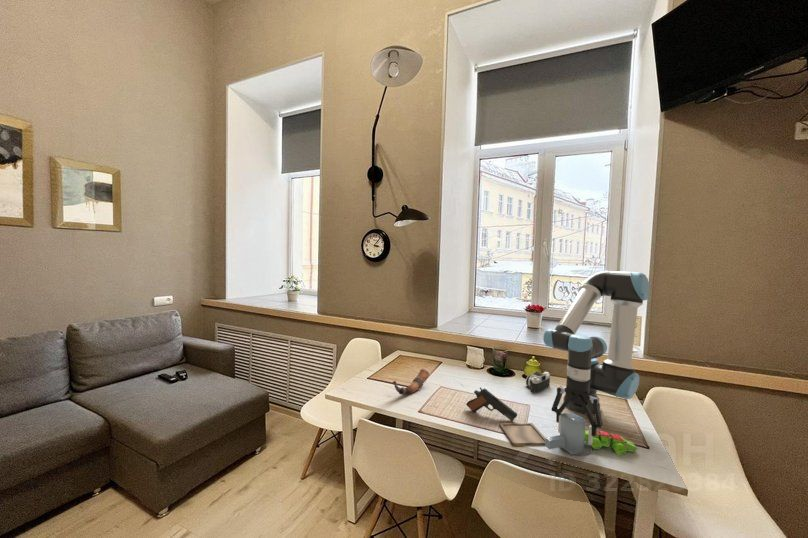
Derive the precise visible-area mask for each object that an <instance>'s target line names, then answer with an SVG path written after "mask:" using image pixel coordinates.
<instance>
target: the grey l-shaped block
mask: <svg viewBox="0 0 808 538" xmlns="http://www.w3.org/2000/svg"><path fill="white" fill-rule="evenodd" d="M586 424H587V421H586V420H585V419H584V417H582V416H580V415H577V414H575V413H569V412H566V413H563V412H562V413H561V420H560V433H559V435H553V436H549V437H545V438H546V440H545V445H544V446H545V447H546V448H547V449H548V450H553V449H558V448H561V447H562V448H561V449H562V450H564V449H565V450H564V451H566V452H567V453H569V454H570V455H576V454H577V453H581V452H585V449H584V444H585V431H586V426H587V425H586Z"/></svg>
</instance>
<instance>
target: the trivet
mask: <svg viewBox="0 0 808 538" xmlns="http://www.w3.org/2000/svg"><path fill="white" fill-rule="evenodd" d="M560 448H561V449H563V448H562V447H560ZM584 449H585V452H581V453H577V454H575V455H576V456H589V455H591V454H592V451H593V449H592V447H591V445H588V442H585V444H584ZM563 450H564V451H566V450H565V449H563Z"/></svg>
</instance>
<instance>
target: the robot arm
mask: <svg viewBox="0 0 808 538" xmlns="http://www.w3.org/2000/svg"><path fill="white" fill-rule="evenodd" d="M577 292H578V293H577V294H576V296H575V298H574V299H573V300H572V302H571V304H570V305H569V306H568V308H567V310H566V311H565V313H564V315H562V318H561V319H560V321H559V322H558V323H557V325H556V327H555V328H548V329H546V330H544V333H543V337H542V338H543V339H542V340H543V342H544V345H545V346H547V347H548V348H549V347H550V348H552V349H554V350H555V349H556V350H561V351H564V352H567V364H566V365H567V367H566V375H567V376H566V382H565V383H566V384H565V386H566V387H563V386H561V385H560V386H558V387H557V388H556V396H555V398H554V401H553V403H552V406H551V411H552V412H554V413H555V415H556V417H555V418H556V419H555V422H556V423H557V424H558V426H557V427H558V428H557V431H558V433H559V434H560V420H561V414H563V411H564V410H565V409H566V408H567V409H569V410H571V411H575V412H577V413H581V414H585V415H586V417H587V420H588V421H589V424H590V425H589V426H588V430H589V436H588V442H587V444H588V445H590V446H591V444H592V443H593V436H594V437H595V436H596V432H597V433H598V430H597V429H601V428H602V427H603V426H604V422H603V417H602V412H601V404H600V397H598V392H601V393H605V394H607V395H611V396H614V397H616V398H620V399H623V400H630V399H632V398H633V397H634V396H635V394H636V392H637V391H638V388H639V384H640V375H639V373H637V372H636V367H635V366H634V365H633V364H632V358H633V351H634V350H633V349H634V340H635V334H636V333H635V332H636V324H637V317H638V316H637V315H638V308H639V307H640V306H642V305H643V304H644V301H647V300H648V299H649V298H650V293H651V287H650V282H649V279H648V277H647V275H646V274H645V273H643V272H638V271H637V272H636V271H624V270H623V271H619V270H618V271H617V270H616V271H615V270H601V271H599V272H596V273H594V274H592V275H590V276H588V277H587V278H586V279H585V280H584V281H582V282H581V284H580V285H579V287H578V291H577ZM603 296H604V297H610V301H611V303H612V304H613V310H612V319H611V327H610V333H609V334H610V335H609V342H608V346H607V343H606V341H605V340H604V339H603V338H601V337H599V336H587V335H583V334H577V332H578V330H579V329H580V327H581V325H582V324H583V322H584V320H585V319H586V317H587V315H588V313H589V312H590V310H591V309H592V308H593V305H594V304H595V302H598V300H600V299H601V298H602V297H603ZM607 350H608V351H607ZM606 353H607V358H605V359H604V360H602V363H599V359H598V358H600V357H602V356H604V355H605V354H606ZM564 393H565V394H564ZM563 394H564V396H563ZM562 396H563V400H562V401H563V402H562V404H561V406H560V407H559V404H560V402H561V399H562Z"/></svg>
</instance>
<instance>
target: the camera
mask: <svg viewBox="0 0 808 538" xmlns="http://www.w3.org/2000/svg"><path fill="white" fill-rule="evenodd" d="M550 380H551V374H550V372H548V371H544V372H543V373H541V372H539V371H538V370H535V372H533V373H532V374H530V375H528V376H527V377H526V378H525V385H526V386H527V387H528V388H530V392H531V393H535V394H536V393H537V394H538V393H541V391H544V390H545V389H547V388H548V386H549V387H550ZM546 387H547V388H546Z"/></svg>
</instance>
